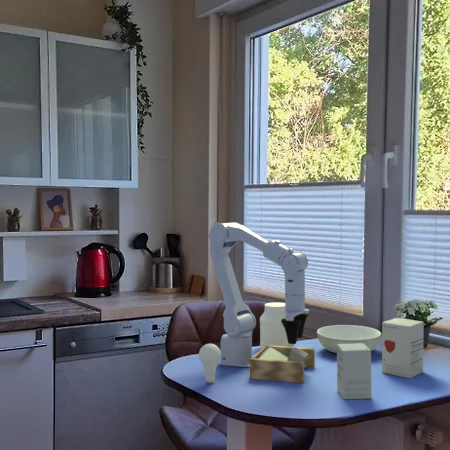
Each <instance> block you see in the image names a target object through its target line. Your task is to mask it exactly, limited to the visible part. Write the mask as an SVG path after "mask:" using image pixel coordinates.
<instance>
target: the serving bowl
mask: <svg viewBox="0 0 450 450" xmlns="http://www.w3.org/2000/svg"><path fill="white" fill-rule="evenodd" d="M316 334H317V340H318V341H319V343H320V344H321V346H322V347H323V348H324V349H325V350H327V351H329V352H331V353H336V354H337V344H356V343H363V344H365V345H366V346H367V347H368V348H369V349H370V350H371V352H373V351H374V350H375V349H376V348H377V347H378V346H379V344H380V342H381V339H382V331H380V330H378V329H376V328H373V327H369V326H364V325H354V324H353V325H352V324H335V325H328V326H322V327H320V328H318V329H317V331H316Z"/></svg>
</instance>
